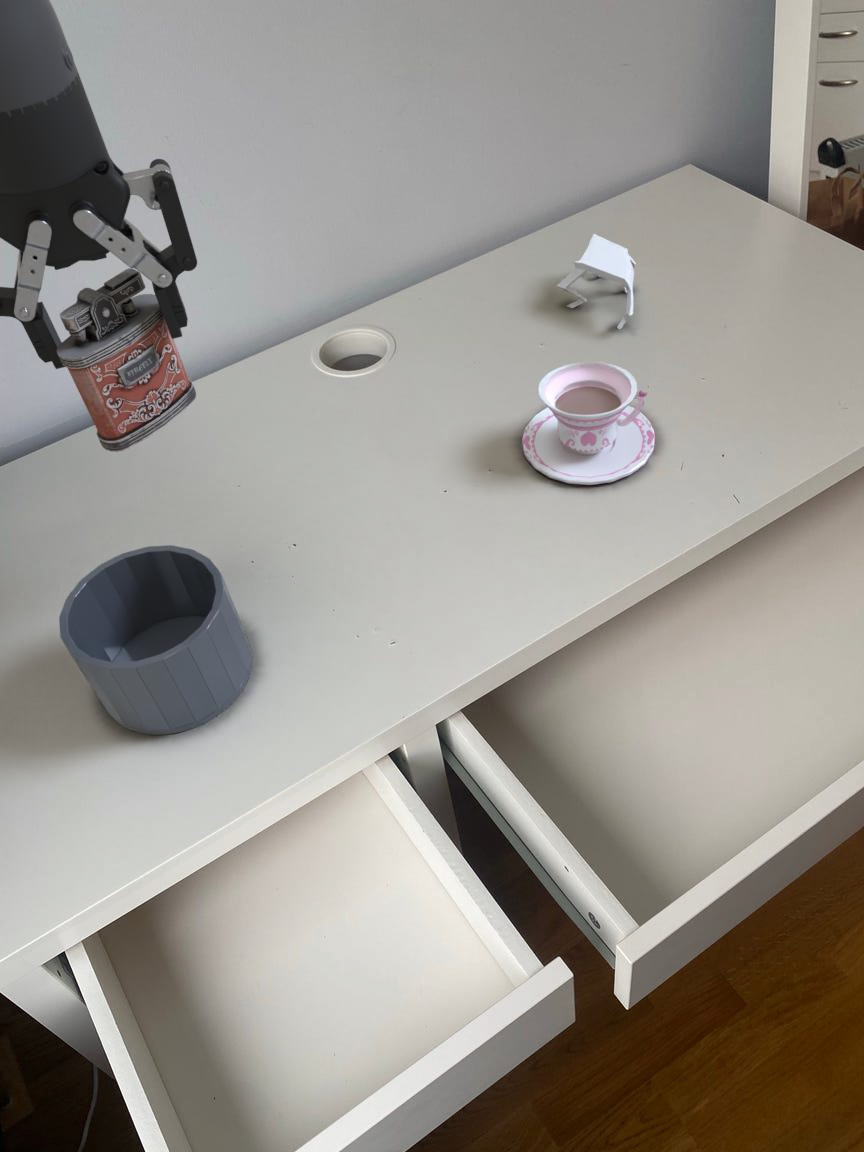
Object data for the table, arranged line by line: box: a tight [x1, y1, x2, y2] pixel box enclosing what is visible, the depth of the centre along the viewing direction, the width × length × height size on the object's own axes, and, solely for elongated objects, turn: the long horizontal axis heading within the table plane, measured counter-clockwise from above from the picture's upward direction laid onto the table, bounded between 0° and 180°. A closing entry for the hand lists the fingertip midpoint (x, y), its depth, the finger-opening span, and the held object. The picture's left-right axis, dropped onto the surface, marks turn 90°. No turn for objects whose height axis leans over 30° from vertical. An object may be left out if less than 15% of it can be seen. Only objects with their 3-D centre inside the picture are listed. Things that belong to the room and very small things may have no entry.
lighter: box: [57, 267, 198, 453], centre depth 65 cm, size 8×3×10 cm, turn 144°
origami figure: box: [556, 233, 637, 331], centre depth 100 cm, size 12×8×5 cm
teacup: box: [521, 361, 656, 486], centre depth 86 cm, size 12×12×6 cm
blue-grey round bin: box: [58, 544, 253, 736], centre depth 72 cm, size 12×12×8 cm
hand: (118, 346), depth 65 cm, fingers closed on lighter, 7 cm apart
